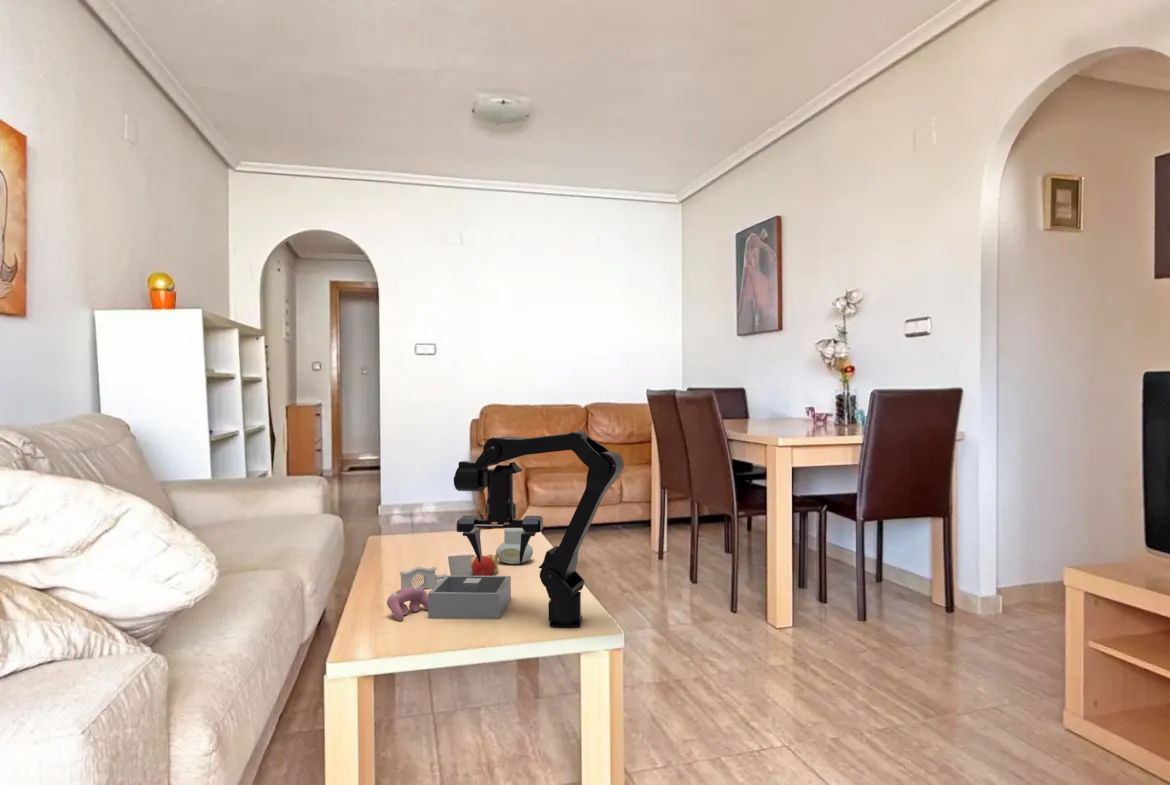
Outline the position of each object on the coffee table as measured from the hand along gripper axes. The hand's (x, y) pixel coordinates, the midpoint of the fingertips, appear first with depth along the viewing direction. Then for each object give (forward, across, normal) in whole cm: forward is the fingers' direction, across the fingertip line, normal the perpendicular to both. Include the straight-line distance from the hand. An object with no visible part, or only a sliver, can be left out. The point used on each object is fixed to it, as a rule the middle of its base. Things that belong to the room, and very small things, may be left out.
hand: (500, 562), depth 151 cm
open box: (+12, +8, -6) cm, 15 cm away
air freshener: (+12, +5, -49) cm, 51 cm away
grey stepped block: (+11, +8, -4) cm, 15 cm away
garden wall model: (+12, +24, -21) cm, 34 cm away
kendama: (+12, +11, -38) cm, 42 cm away
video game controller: (+12, +21, -1) cm, 24 cm away
